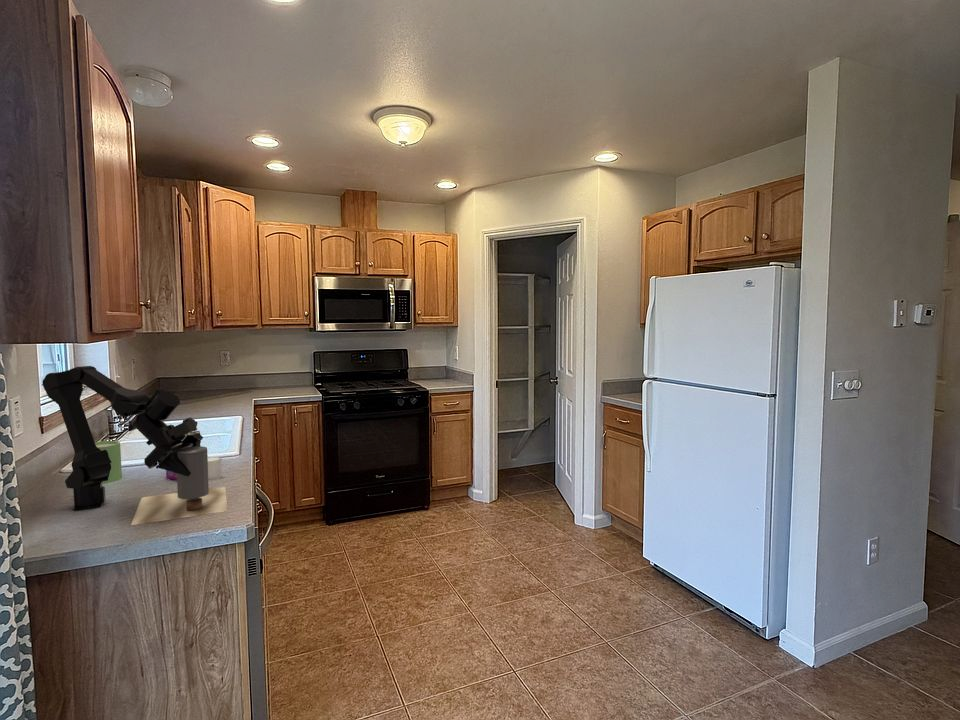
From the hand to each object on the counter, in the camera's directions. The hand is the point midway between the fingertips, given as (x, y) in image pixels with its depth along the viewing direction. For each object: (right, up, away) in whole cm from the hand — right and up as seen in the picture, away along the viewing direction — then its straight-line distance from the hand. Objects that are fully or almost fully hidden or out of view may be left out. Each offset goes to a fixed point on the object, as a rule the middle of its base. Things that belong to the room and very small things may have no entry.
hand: (197, 471), depth 144 cm
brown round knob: (-1, -10, +1) cm, 11 cm away
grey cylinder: (-1, -7, +1) cm, 7 cm away
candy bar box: (-22, -10, +32) cm, 40 cm away
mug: (-49, -10, +30) cm, 58 cm away
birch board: (-7, -11, +5) cm, 14 cm away
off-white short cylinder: (-12, -10, +31) cm, 35 cm away
